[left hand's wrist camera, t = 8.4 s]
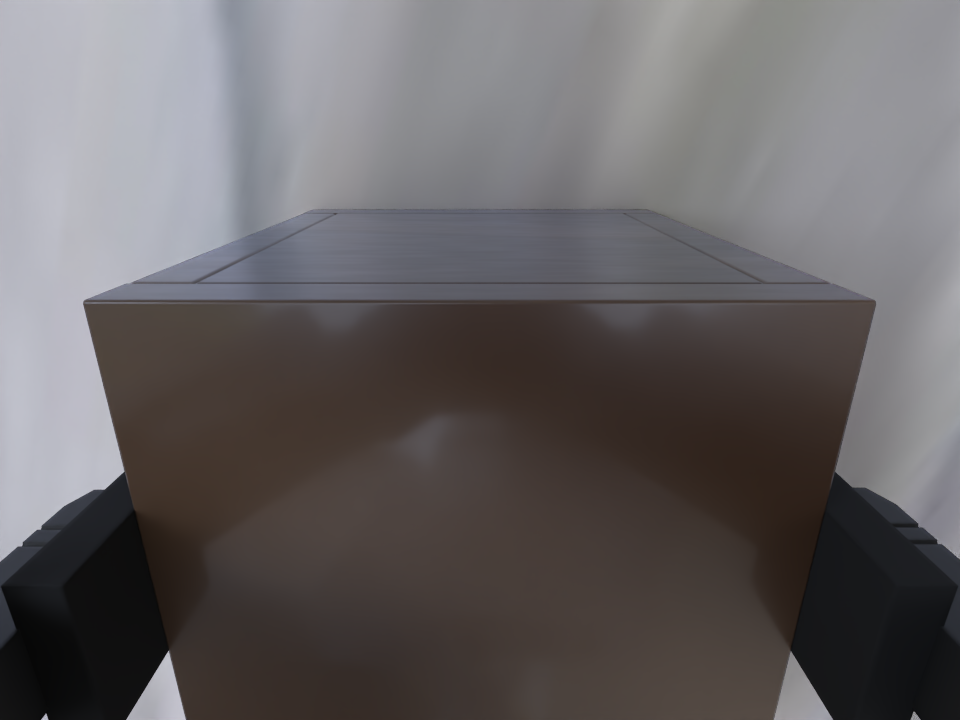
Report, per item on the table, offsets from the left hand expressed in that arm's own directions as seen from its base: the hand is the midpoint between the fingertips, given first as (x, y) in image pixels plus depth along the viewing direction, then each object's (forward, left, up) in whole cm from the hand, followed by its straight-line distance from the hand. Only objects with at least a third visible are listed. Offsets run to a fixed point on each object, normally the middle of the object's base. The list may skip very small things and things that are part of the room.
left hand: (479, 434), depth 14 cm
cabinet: (0, +5, -6) cm, 8 cm away
